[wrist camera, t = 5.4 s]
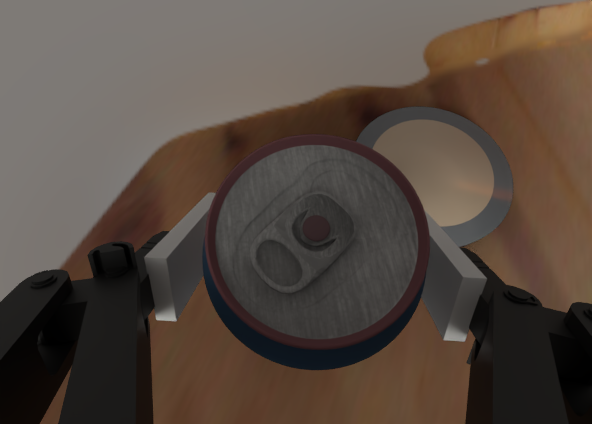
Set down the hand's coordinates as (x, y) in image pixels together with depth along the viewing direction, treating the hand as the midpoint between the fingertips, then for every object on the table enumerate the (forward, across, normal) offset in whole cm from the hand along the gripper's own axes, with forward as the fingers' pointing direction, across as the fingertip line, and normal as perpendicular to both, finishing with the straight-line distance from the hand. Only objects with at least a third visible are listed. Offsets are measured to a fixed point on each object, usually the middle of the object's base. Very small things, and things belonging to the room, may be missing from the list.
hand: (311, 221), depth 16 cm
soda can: (+1, 0, -5) cm, 5 cm away
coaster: (+7, +8, +1) cm, 10 cm away
